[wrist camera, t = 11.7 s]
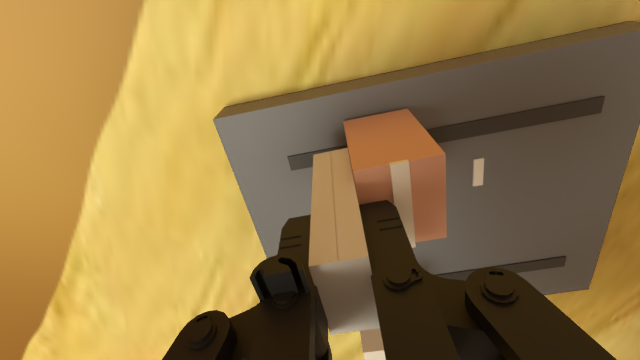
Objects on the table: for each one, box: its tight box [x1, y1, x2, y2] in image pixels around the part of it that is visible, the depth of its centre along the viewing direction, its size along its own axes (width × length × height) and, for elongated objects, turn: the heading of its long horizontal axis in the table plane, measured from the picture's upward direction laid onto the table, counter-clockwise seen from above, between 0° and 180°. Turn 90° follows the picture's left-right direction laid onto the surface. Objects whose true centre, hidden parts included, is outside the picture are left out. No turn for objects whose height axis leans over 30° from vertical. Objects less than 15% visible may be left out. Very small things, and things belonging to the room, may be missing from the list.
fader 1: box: [360, 328, 386, 360], centre depth 18 cm, size 4×3×5 cm
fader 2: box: [343, 108, 447, 248], centre depth 13 cm, size 4×3×5 cm
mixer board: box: [213, 22, 640, 295], centre depth 19 cm, size 16×20×2 cm
